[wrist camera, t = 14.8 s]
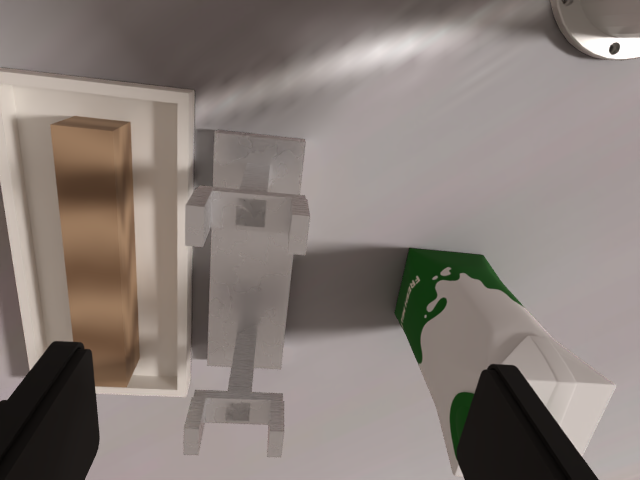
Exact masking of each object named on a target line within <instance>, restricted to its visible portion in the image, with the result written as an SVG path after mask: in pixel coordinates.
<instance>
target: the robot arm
mask: <svg viewBox="0 0 640 480" xmlns="http://www.w3.org/2000/svg"><path fill="white" fill-rule="evenodd" d="M550 2H551V6H552V11H553V15H554V18H555V20H556V22H557V24H558V27H559V29H560V31H561V32H562V34H563V35H564V36H565V37H566V39H567V40H568V41H569V43H571V44H572V45H573V46H574V47H576V48H577V49H578V50H579V51H581V52H583V53H585V54H587V55H589V56H591V57H595V58H600V59H605V60H628V59H636V58H639V57H640V0H564V2H562V0H550ZM98 446H99V425H98V414H97V402H96V391H95V380H94V368H93V357H92V351H91V350H90V349H85V348H84V345H83V343H81V342H68V341H54V342H52V343H51V344H50V346H49V347H48V348H47V349H46V351H45V352H44V353H43V355H42V356H41V357H40V359H39V360H38V361H37V362H36V364H35V365H34V366H33V368H32V369H31V370H30V371H29V373H28V374H27V375H26V377H25V378H24V379H23V381H22V382H21V383H20V384H19V386H18V387H17V388H16V390H15V391H14V392H13V394H12V395H11V396H10V397H9V399H8V400H2V401H0V480H85V478H86V476H87V473H88V471H89V469H90V467H91V465H92V462H93V460H94V458H95V456H96V453H97V450H98ZM457 461H458V464H459V467H460V469H461V472H462V474H463V476H464V479H465V480H598V478H597V477H596V475H595V474H594V473H593V471H592V470H591V469H590V467H589V466H588V464H587V463H586V462H585V460H584V459H583V457H582V456H581V455H580V453H579V452H578V451H577V449H576V448H575V446H574V445H573V444H572V442H571V441H570V439H569V438H568V437H567V435H566V434H565V433H564V431H563V430H562V428H561V427H560V426H559V424H558V423H557V421H556V420H555V419H554V417H553V416H552V415H551V413H550V412H549V410H548V409H547V408H546V406H545V405H544V404H543V402H542V401H541V399H540V398H539V397H538V395H537V394H536V392H535V391H534V390H533V388H532V387H531V386H530V384H529V383H528V381H527V380H526V379H525V377H524V376H523V374H522V373H521V372H520V370H519V369H518V368H517V367H516V366H514V365H504V364H490V365H489V366H488V368H487V369H485V370H483V371H482V372H481V374H480V377H479V380H478V384H477V387H476V390H475V393H474V396H473V399H472V402H471V406H470V409H469V412H468V415H467V418H466V421H465V424H464V427H463V431H462V434H461V437H460V440H459V443H458V446H457Z"/></svg>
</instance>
